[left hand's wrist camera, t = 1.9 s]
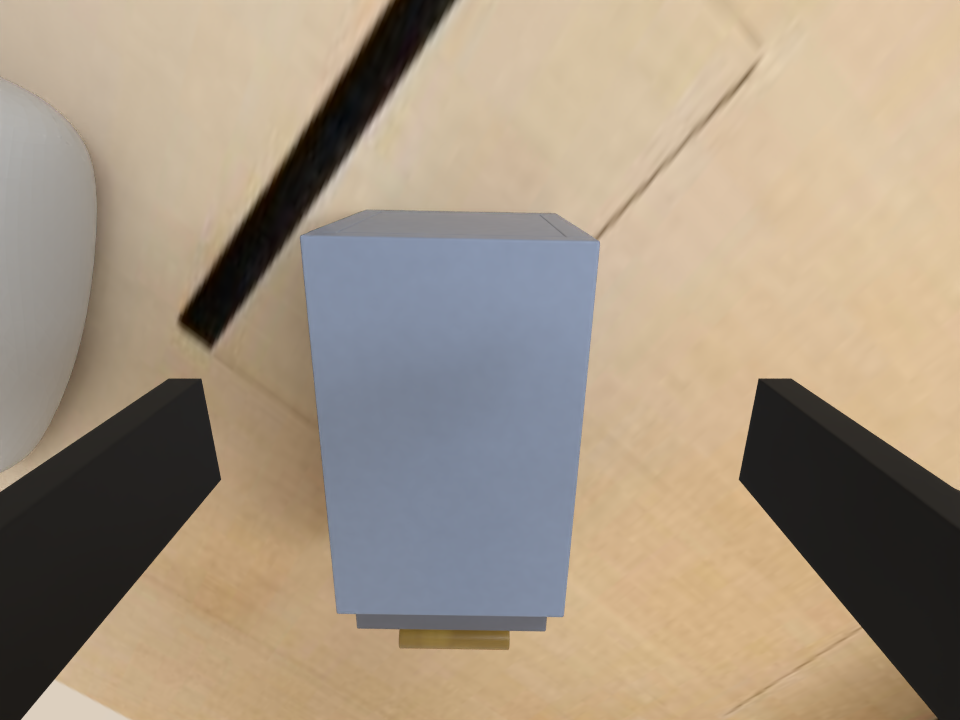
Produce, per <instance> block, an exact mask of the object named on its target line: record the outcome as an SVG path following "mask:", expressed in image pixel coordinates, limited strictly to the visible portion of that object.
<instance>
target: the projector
mask: <svg viewBox="0 0 960 720" xmlns="http://www.w3.org/2000/svg"><path fill="white" fill-rule="evenodd" d="M96 230H97V196H96V182H95V176H94V170H93V165H92V161H91V158H90V155H89V152H88V150H87V148H86V145H85V143H84V142H83V140H82V138H81V137H80V135H79V134H78V132H77V131H76V130H75V128H74V127H73V126H72V125H71V124H70V123H69V121H68V120H67V119H65V118H64V117H63V116H62V115H61V114H60V113H59V112H58V111H57V110H56V109H55V108H54V107H52V106H51V105H50V104H49V103H47V102H46V101H44V100H43V99H41V98H40V97H39V96H37V95H35V94H33V93H31V92H30V91H28V90H26V89H24V88H23V87H21V86H19V85H17V84H15V83H12V82H10V81H8V80H6V79H4V78H2V77H0V473H1V472H3V471H5V470H7V469H9V468H11V467H12V466H14V465H15V464H17V463H18V462H20V461H21V460H23V459H24V458H25V457H26V456H27V455H29V454H30V453H31V452H32V450H33V449H34V448H35V447H36V446H37V444H38V443H39V441H40V440H41V439H42V437H43V435H44V433H45V432H46V430H47V428H48V427H49V425H50V423H51V421H52V419H53V417H54V414H55V412H56V410H57V408H58V406H59V404H60V402H61V399H62V397H63V394H64V392H65V389H66V387H67V384H68V382H69V379H70V376H71V373H72V370H73V367H74V364H75V361H76V357H77V353H78V350H79V346H80V343H81V338H82V334H83V329H84V325H85V320H86V316H87V310H88V304H89V298H90V291H91V285H92V276H93V268H94V259H95V245H96Z"/></svg>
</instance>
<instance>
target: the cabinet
mask: <svg viewBox="0 0 960 720" xmlns="http://www.w3.org/2000/svg"><path fill="white" fill-rule="evenodd" d="M300 243H301V253H302V263H303V273H304V283H305V294H306V304H307V314H308V324H309V334H310V344H311V355H312V365H313V375H314V385H315V395H316V405H317V416H318V426H319V436H320V446H321V456H322V466H323V477H324V487H325V497H326V507H327V517H328V527H329V538H330V548H331V558H332V568H333V578H334V588H335V599H336V609H337V613H338V614H396V615H461V616H527V617H563V616H564V608H565V597H566V587H567V577H568V567H569V556H570V546H571V536H572V526H573V515H574V505H575V495H576V484H577V474H578V464H579V454H580V443H581V433H582V423H583V412H584V402H585V392H586V382H587V371H588V361H589V351H590V341H591V330H592V320H593V310H594V299H595V289H596V279H597V269H598V258H599V248H600V242H599V241H598V240H596V239H595V238H594V237H592V236H590V235H589V234H587V233H586V232H584V231H582V230H581V229H579V228H578V227H576V226H575V225H573V224H571V223H570V222H568V221H567V220H565V219H564V218H562V217H560V216H559V215H557V214H548V213H498V212H448V211H398V210H365V211H362V212H359V213H356V214H354V215H351V216H349V217H346V218H343V219H341V220H338V221H336V222H333V223H330V224H328V225H325V226H323V227H320V228H318V229H315V230H312V231H310V232H308V233H306V234H303V235H301V236H300Z"/></svg>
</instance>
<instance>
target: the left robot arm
mask: <svg viewBox="0 0 960 720" xmlns="http://www.w3.org/2000/svg"><path fill="white" fill-rule="evenodd" d="M220 480H221V476H220V471H219V466H218V461H217V456H216V451H215V446H214V441H213V436H212V431H211V426H210V420H209V415H208V410H207V405H206V400H205V395H204V390H203V385H202V380H201V379H168V380H166V381H165V382H163V383H162V384H160V385H159V386H157V387H156V388H154V389H153V390H151V391H150V392H148V393H147V394H145V395H144V396H142V397H141V398H139V399H138V400H136V401H135V402H133V403H132V404H130V405H129V406H127V407H126V408H124V409H123V410H121V411H120V412H119V413H117V414H116V415H114V416H113V417H111V418H110V419H108V420H107V421H105V422H104V423H102V424H101V425H99V426H98V427H96V428H95V429H93V430H92V431H90V432H89V433H87V434H86V435H84V436H83V437H81V438H80V439H78V440H77V441H75V442H74V443H72V444H71V445H70V446H68V447H67V448H65V449H64V450H62V451H61V452H59V453H58V454H56V455H55V456H53V457H52V458H50V459H49V460H47V461H46V462H44V463H43V464H41V465H40V466H38V467H37V468H35V469H34V470H32V471H31V472H29V473H28V474H26V475H25V476H23V477H22V478H20V479H19V480H18V481H16V482H15V483H13V484H12V485H10V486H9V487H7V488H6V489H4V490H3V491H1V492H0V720H21V719H22V718H23V716H24V715H25V714H26V713H27V712H28V710H29V709H30V708H31V707H32V706H33V704H34V703H35V702H36V701H37V700H38V698H39V697H40V696H41V695H42V694H43V692H44V691H45V690H46V689H47V688H48V686H49V685H50V684H51V683H52V682H53V680H54V679H55V678H56V677H57V676H58V674H59V673H60V672H61V671H62V670H63V668H64V667H65V666H66V665H67V664H68V663H69V661H70V660H71V659H72V658H73V657H74V655H75V654H76V653H77V652H78V651H79V649H80V648H81V647H82V646H83V645H84V643H85V642H86V641H87V640H88V639H89V637H90V636H91V635H92V634H93V633H94V631H95V630H96V629H97V628H98V627H99V625H100V624H101V623H102V622H103V621H104V619H105V618H106V617H107V616H108V615H109V613H110V612H111V611H112V610H113V609H114V607H115V606H116V605H117V604H118V603H119V601H120V600H121V599H122V598H123V597H124V595H125V594H126V593H127V592H128V591H129V589H130V588H131V587H132V586H133V585H134V583H135V582H136V581H137V580H138V579H139V577H140V576H141V575H142V574H143V573H144V571H145V570H146V569H147V568H148V567H149V565H150V564H151V563H152V562H153V561H154V559H155V558H156V557H157V556H158V555H159V553H160V552H161V551H162V550H163V549H164V547H165V546H166V545H167V544H168V543H169V541H170V540H171V539H172V538H173V537H174V535H175V534H176V533H177V532H178V531H179V529H180V528H181V527H182V526H183V525H184V523H185V522H186V521H187V520H188V519H189V517H190V516H191V515H192V514H193V513H194V511H195V510H196V509H197V508H198V507H199V505H200V504H201V503H202V502H203V501H204V499H205V498H206V497H207V496H208V495H209V493H210V492H211V491H212V490H213V489H214V487H215V486H216V485H217V484H218V483H219V481H220ZM739 480H740V481H741V483H742V484H743V485H744V486H745V487H746V489H747V490H748V491H749V492H750V493H751V495H752V496H753V497H754V498H755V499H756V501H757V502H758V503H759V504H760V505H761V507H762V508H763V509H764V510H765V511H766V513H767V514H768V515H769V516H770V517H771V519H772V520H773V521H774V522H775V523H776V525H777V526H778V527H779V528H780V529H781V531H782V532H783V533H784V534H785V535H786V537H787V538H788V539H789V540H790V541H791V543H792V544H793V545H794V546H795V547H796V549H797V550H798V551H799V552H800V553H801V555H802V556H803V557H804V558H805V559H806V561H807V562H808V563H809V564H810V565H811V567H812V568H813V569H814V570H815V571H816V573H817V574H818V575H819V576H820V577H821V579H822V580H823V581H824V582H825V583H826V585H827V586H828V587H829V588H830V589H831V591H832V592H833V593H834V594H835V595H836V597H837V598H838V599H839V600H840V601H841V603H842V604H843V605H844V606H845V607H846V609H847V610H848V611H849V612H850V613H851V615H852V616H853V617H854V618H855V619H856V621H857V622H858V623H859V624H860V625H861V627H862V628H863V629H864V630H865V631H866V633H867V634H868V635H869V636H870V637H871V639H872V640H873V641H874V642H875V643H876V645H877V646H878V647H879V648H880V649H881V651H882V652H883V653H884V654H885V655H886V657H887V658H888V659H889V660H890V661H891V663H892V664H893V665H894V666H895V667H896V669H897V670H898V671H899V672H900V673H901V674H902V676H903V677H904V678H905V679H906V680H907V682H908V683H909V684H910V685H911V686H912V688H913V689H914V690H915V691H916V692H917V694H918V695H919V696H920V697H921V698H922V700H923V701H924V702H925V703H926V704H927V706H928V707H929V708H930V709H931V710H932V712H933V713H934V714H935V715H936V716H937V718H938V719H939V720H960V491H959V490H957V489H955V488H953V487H951V486H950V485H948V484H947V483H945V482H944V481H942V480H941V479H940V478H938V477H937V476H935V475H934V474H932V473H931V472H929V471H928V470H926V469H925V468H923V467H922V466H920V465H919V464H917V463H916V462H914V461H913V460H911V459H910V458H908V457H907V456H905V455H904V454H902V453H901V452H899V451H898V450H896V449H895V448H893V447H892V446H890V445H889V444H888V443H886V442H885V441H883V440H882V439H880V438H879V437H877V436H876V435H874V434H873V433H871V432H870V431H868V430H867V429H865V428H864V427H862V426H861V425H859V424H858V423H856V422H855V421H853V420H852V419H850V418H849V417H847V416H846V415H844V414H843V413H841V412H840V411H839V410H837V409H836V408H834V407H833V406H831V405H830V404H828V403H827V402H825V401H824V400H822V399H821V398H819V397H818V396H816V395H815V394H813V393H812V392H810V391H809V390H807V389H806V388H804V387H803V386H801V385H800V384H798V383H797V382H795V381H794V380H792V379H759V380H758V385H757V390H756V395H755V400H754V405H753V410H752V415H751V420H750V426H749V431H748V436H747V441H746V446H745V451H744V456H743V461H742V466H741V471H740V476H739Z"/></svg>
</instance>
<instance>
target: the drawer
mask: <svg viewBox="0 0 960 720" xmlns="http://www.w3.org/2000/svg"><path fill="white" fill-rule="evenodd" d="M356 620H357V628H361V629H400V631H399V647H400V648H420V649H487V650H509V631H545V630H546V621H547V617H527V616H461V615H396V614H356Z"/></svg>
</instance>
